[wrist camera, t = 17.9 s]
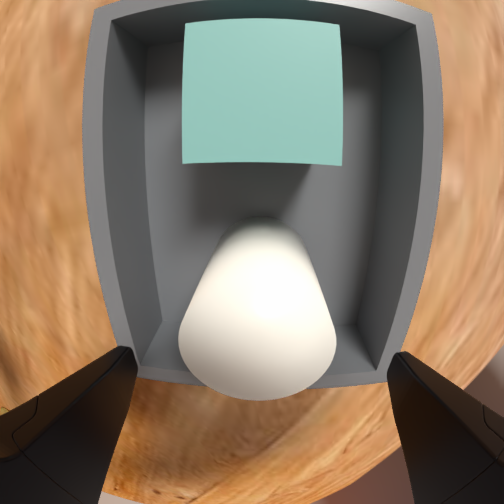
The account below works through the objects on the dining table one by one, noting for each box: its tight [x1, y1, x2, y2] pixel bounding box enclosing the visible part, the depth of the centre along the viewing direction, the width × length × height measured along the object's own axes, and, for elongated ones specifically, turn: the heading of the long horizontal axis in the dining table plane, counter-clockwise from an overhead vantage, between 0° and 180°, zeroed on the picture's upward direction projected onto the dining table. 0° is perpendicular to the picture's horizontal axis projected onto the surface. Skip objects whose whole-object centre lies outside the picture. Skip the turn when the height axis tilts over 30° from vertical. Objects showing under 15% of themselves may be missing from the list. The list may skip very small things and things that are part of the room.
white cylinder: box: [178, 217, 336, 401], centre depth 12 cm, size 5×5×7 cm
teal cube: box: [182, 18, 343, 166], centre depth 10 cm, size 5×5×5 cm
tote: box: [82, 0, 443, 389], centre depth 12 cm, size 18×14×5 cm
